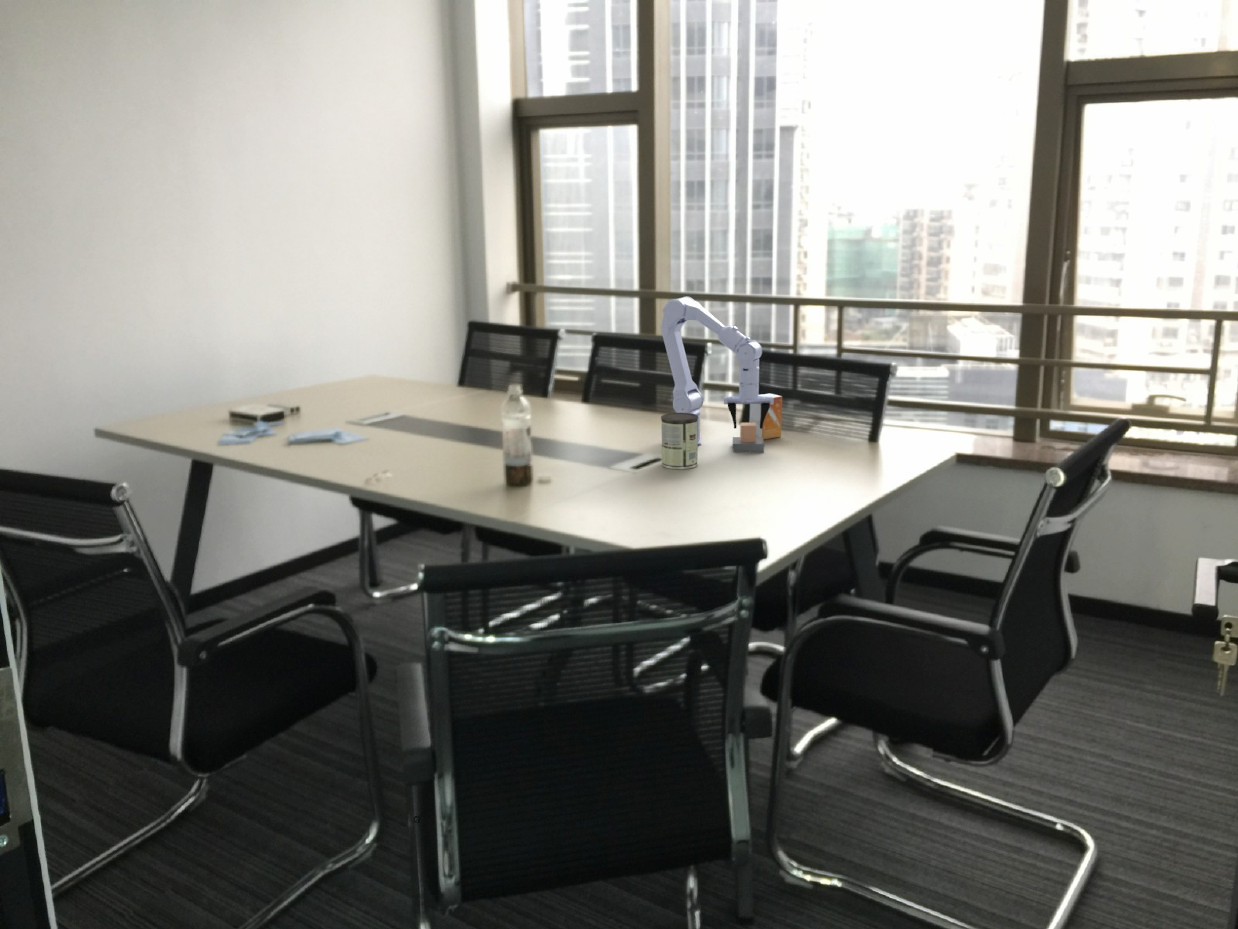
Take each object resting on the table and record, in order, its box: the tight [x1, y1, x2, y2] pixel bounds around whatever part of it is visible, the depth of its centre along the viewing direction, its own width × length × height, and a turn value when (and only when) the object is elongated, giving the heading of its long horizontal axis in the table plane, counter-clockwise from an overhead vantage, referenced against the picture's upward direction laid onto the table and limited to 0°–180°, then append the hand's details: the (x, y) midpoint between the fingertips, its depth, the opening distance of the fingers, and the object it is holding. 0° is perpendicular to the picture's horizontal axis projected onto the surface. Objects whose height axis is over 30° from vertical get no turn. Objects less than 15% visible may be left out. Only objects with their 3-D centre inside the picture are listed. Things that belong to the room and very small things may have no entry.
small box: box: [749, 393, 783, 440], centre depth 333 cm, size 8×6×13 cm
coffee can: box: [660, 412, 699, 470], centre depth 300 cm, size 10×10×14 cm
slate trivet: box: [732, 436, 765, 453], centre depth 319 cm, size 9×9×3 cm
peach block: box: [739, 422, 756, 442], centre depth 318 cm, size 4×4×5 cm
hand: (748, 427), depth 318 cm, fingers open, 7 cm apart
